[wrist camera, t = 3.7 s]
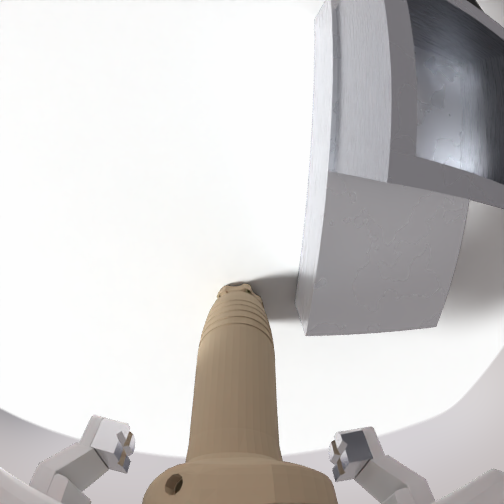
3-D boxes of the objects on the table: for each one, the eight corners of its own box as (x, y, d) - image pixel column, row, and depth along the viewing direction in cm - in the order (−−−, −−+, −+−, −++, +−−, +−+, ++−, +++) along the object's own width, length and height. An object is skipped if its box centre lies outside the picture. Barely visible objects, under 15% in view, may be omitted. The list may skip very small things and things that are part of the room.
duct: (314, 19, 13) (364, -63, 4) (435, 58, 13) (520, 30, 4) (294, 303, 19) (327, 405, 10) (411, 301, 20) (477, 372, 11)
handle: (295, 298, 19) (361, 510, 5) (225, 345, 20) (213, 541, 6) (252, 247, 18) (274, 490, 4) (181, 302, 19) (112, 508, 5)
